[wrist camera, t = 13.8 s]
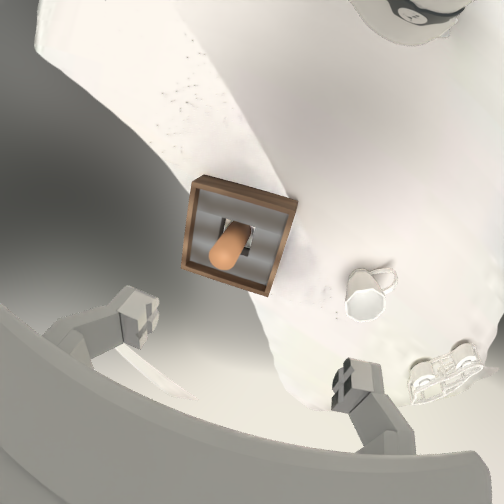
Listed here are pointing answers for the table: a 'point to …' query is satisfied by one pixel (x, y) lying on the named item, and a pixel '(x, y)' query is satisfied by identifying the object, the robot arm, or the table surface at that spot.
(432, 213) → the table surface
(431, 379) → the skeletal toy car
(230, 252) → the peg
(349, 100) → the table surface
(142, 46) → the table surface
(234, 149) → the table surface
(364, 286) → the cup
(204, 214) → the box
